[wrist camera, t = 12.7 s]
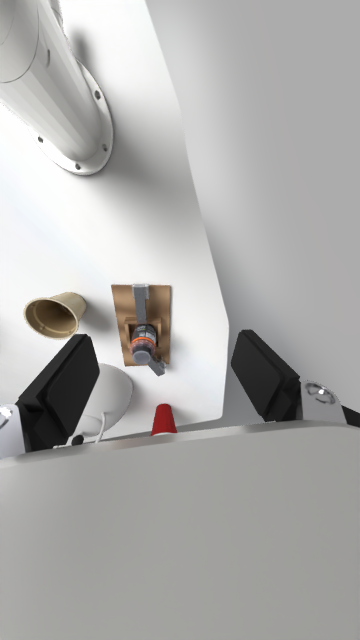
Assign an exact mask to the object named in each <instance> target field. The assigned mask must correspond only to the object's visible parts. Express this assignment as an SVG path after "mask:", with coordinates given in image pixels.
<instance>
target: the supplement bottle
mask: <svg viewBox="0 0 360 640" xmlns="http://www.w3.org/2000/svg"><path fill="white" fill-rule="evenodd" d="M155 338H156V333H155V328H154V327H153V326H152V325H151V324H138V325H137V326H136V327H135V329H134V333H133V337H132V341H131V344H130V353H131V355H132V359H133V361H134V362H135V363H136V364H139V365H144V364H147V363H148V362H149V361H150V359H151V357H152V356H153V355H154V353H155Z"/></svg>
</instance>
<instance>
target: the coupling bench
mask: <svg viewBox="0 0 360 640" xmlns="http://www.w3.org/2000/svg"><path fill="white" fill-rule="evenodd" d="M132 286H133V285H111V288H112V294H113V299H114V305H115V311H116V317H117V323H118V329H119V335H120V341H121V346H122V352H123V358H124V364H125V366H142V365H139V364H136V363H135V362H134V361H133V359H132V355H131V353H130V344H131V341H132V337H133V333H134V329H135V327H136V326H137V325H138V324H137V317H136V307H135V299H133V292H132ZM146 310H147V324H151V325H152V326H153V327H154V328H155V333H156V338H155V353H154V356H155V357H156V358H158V357H160V356H162V357H163V358H164V360H165V361H166V364H169V324H170V285H149V299H146ZM144 365H147V364H144Z"/></svg>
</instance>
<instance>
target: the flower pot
mask: <svg viewBox="0 0 360 640" xmlns="http://www.w3.org/2000/svg"><path fill="white" fill-rule="evenodd" d="M62 305H63V307H64V308H65V309H63V307H62ZM85 310H86V303H85V301H84V300H83V298H82V297H81V296H79V295H77V294H74V293H72V292H65V293H62V294H60V295H56V296H53V297H50V298H37V299H34V300H32V301H30V302H29V303H27V305H26V306H25V308H24V313H23V314H24V319H25V321H26V323H27V324H28V325H29V327H30V328H31V329H33V330H34V331H35V332H36V333H38V334H40V335H42V336H44V337H47V338H50V339H56V340H61V339H67V338H69V337H71V336H73V335H74V334H75V333H76V332H77V330H78V327H79V320H80V319H81V317H82V315H83V313H84V312H85Z"/></svg>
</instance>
